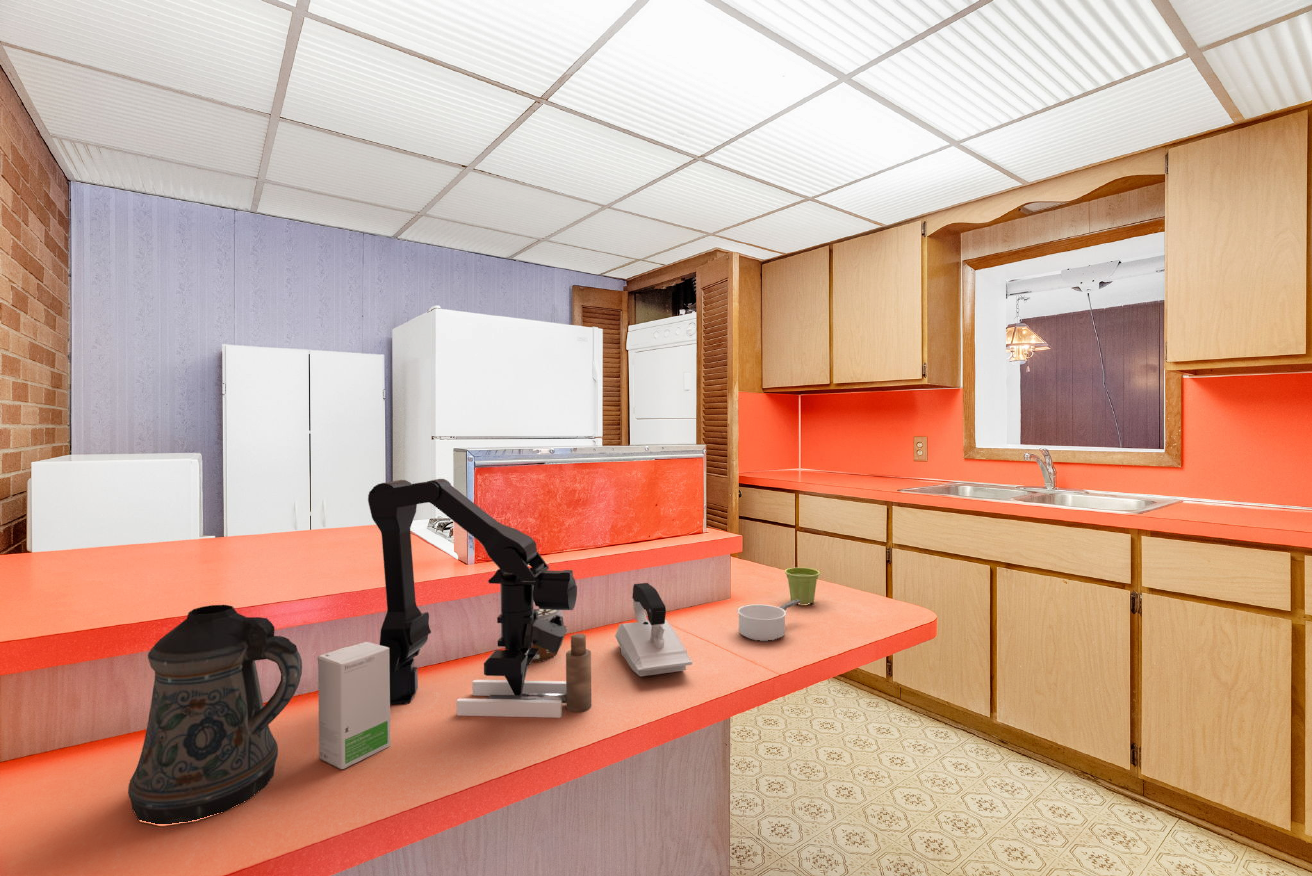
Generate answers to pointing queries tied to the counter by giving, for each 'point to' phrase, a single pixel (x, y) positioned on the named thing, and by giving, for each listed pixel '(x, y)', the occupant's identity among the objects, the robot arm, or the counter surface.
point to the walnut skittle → (578, 675)
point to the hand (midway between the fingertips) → (518, 694)
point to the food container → (542, 653)
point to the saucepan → (763, 621)
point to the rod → (543, 696)
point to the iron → (651, 636)
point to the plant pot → (802, 584)
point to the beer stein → (210, 716)
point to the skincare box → (353, 703)
